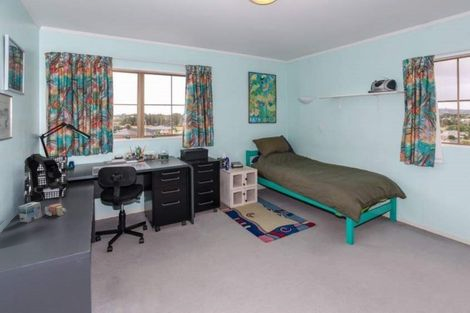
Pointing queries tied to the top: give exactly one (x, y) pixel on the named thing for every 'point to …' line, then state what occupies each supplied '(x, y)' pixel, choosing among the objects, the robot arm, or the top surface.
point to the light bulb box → (30, 212)
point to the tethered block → (56, 209)
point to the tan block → (50, 212)
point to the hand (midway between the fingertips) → (52, 198)
